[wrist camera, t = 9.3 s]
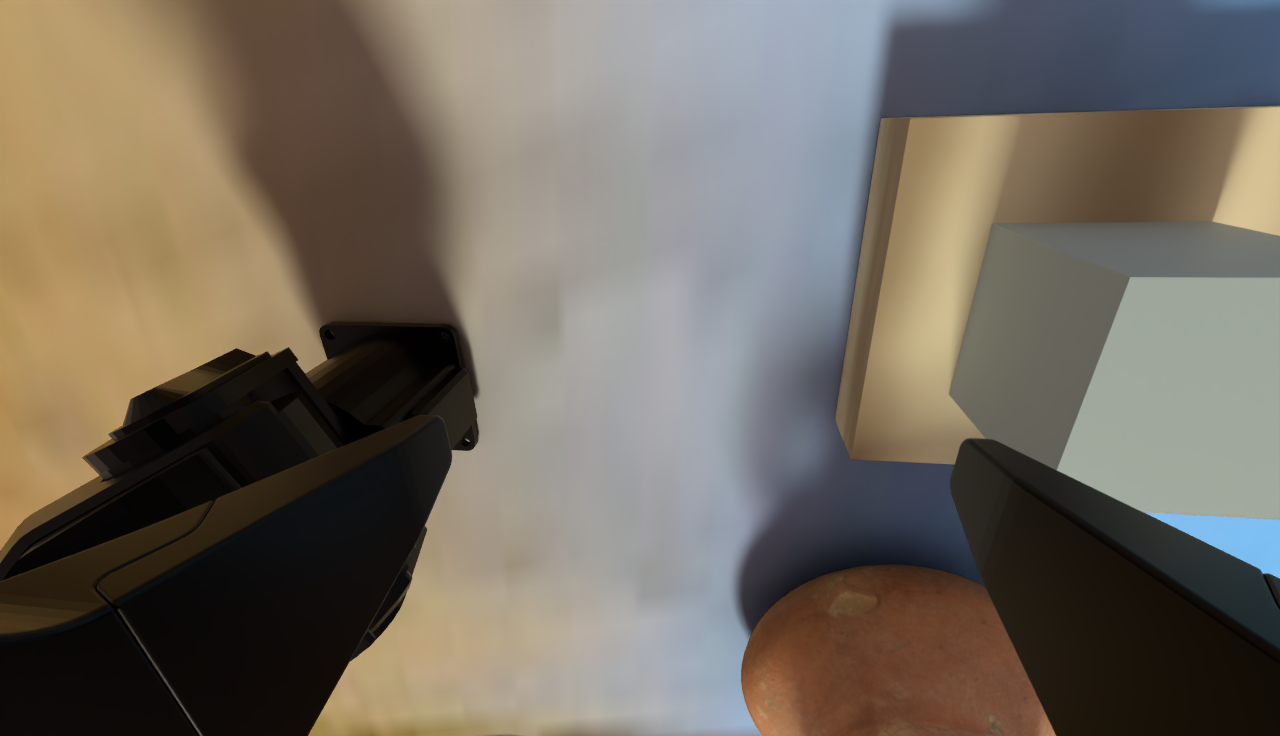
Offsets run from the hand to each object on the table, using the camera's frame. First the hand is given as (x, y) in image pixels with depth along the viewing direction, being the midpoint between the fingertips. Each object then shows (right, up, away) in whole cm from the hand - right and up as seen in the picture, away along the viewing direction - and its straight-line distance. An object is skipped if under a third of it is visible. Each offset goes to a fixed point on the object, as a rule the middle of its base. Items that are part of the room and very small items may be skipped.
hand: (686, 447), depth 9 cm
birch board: (+14, +4, +11) cm, 18 cm away
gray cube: (+13, +3, +8) cm, 16 cm away
